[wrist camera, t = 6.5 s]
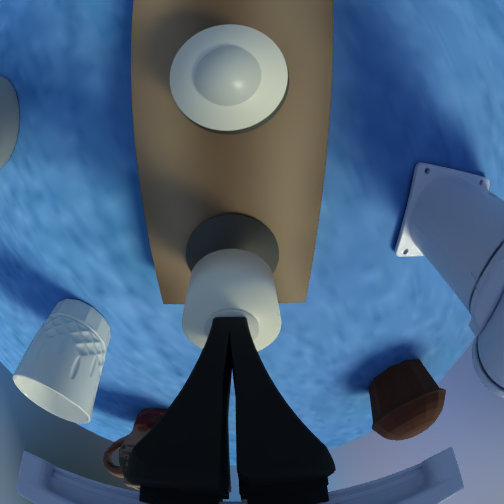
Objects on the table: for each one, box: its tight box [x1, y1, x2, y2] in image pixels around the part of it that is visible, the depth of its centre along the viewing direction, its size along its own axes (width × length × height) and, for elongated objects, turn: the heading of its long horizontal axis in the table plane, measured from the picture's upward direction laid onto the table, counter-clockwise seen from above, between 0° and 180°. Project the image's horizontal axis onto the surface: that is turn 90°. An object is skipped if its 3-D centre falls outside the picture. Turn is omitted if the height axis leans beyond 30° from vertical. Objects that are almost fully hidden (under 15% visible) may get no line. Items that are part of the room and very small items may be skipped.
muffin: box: [369, 360, 446, 440], centre depth 29 cm, size 12×11×10 cm
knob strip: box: [131, 0, 333, 304], centre depth 12 cm, size 10×28×3 cm, turn 179°
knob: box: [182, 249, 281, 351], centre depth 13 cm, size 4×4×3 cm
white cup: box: [13, 298, 111, 424], centre depth 20 cm, size 8×8×10 cm
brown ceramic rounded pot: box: [103, 409, 167, 490], centre depth 31 cm, size 20×12×14 cm, turn 105°
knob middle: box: [170, 24, 288, 131], centre depth 10 cm, size 4×4×3 cm
